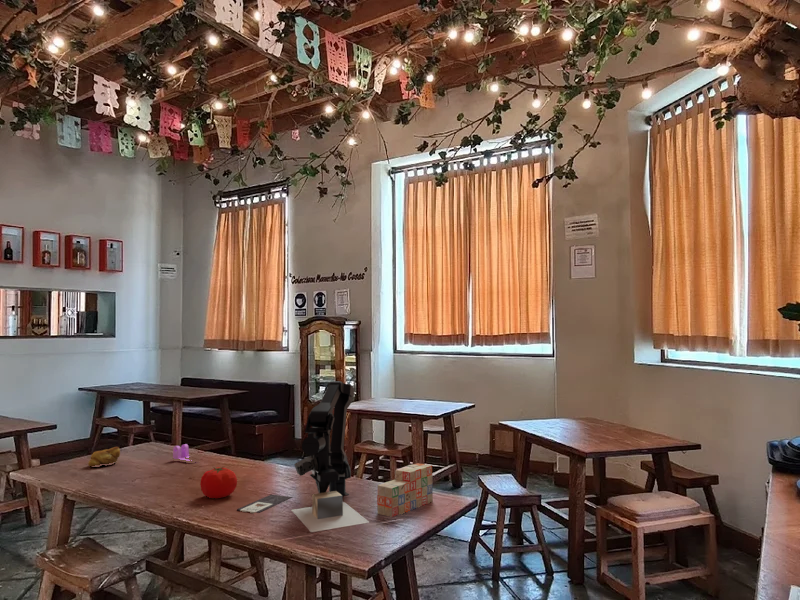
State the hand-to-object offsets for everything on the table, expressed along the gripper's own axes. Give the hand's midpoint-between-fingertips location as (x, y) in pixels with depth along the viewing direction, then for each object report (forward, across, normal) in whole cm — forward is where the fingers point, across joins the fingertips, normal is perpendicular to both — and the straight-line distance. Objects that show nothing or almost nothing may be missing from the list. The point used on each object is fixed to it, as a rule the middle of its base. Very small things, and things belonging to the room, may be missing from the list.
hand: (321, 497), depth 186 cm
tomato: (+4, -32, -28) cm, 43 cm away
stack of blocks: (+4, +10, +25) cm, 27 cm away
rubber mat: (+4, +8, 0) cm, 8 cm away
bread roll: (+4, -107, -68) cm, 127 cm away
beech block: (+1, +3, 0) cm, 3 cm away
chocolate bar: (+5, -15, -15) cm, 22 cm away
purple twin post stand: (+4, -97, -33) cm, 103 cm away
